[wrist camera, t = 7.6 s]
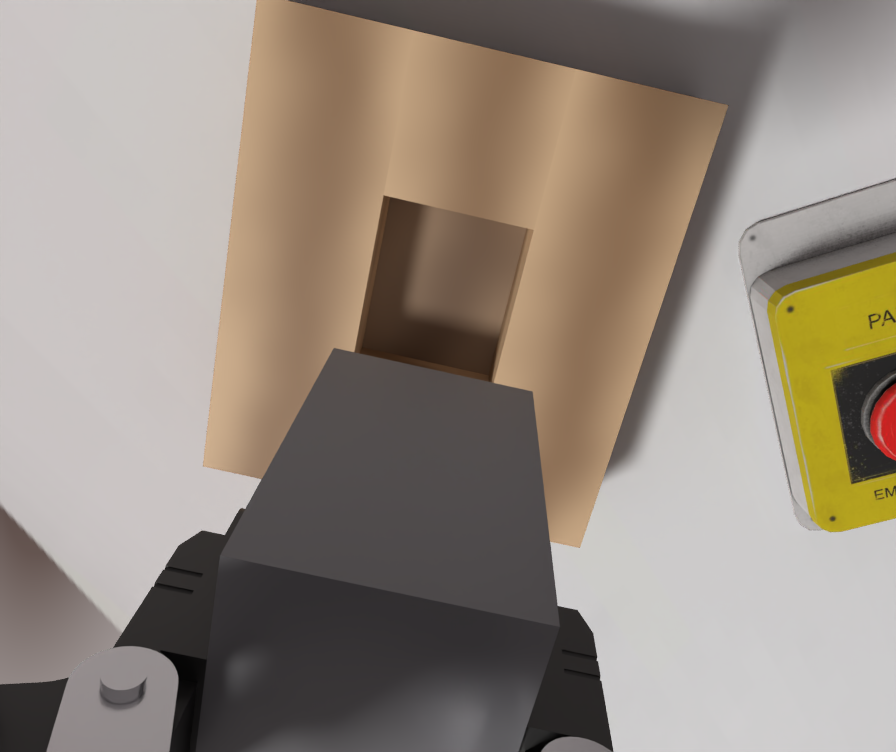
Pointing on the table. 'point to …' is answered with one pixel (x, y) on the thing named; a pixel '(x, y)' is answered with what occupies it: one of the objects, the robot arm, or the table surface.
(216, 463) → the socket block
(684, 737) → the table surface
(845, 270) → the emergency button
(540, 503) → the plug
